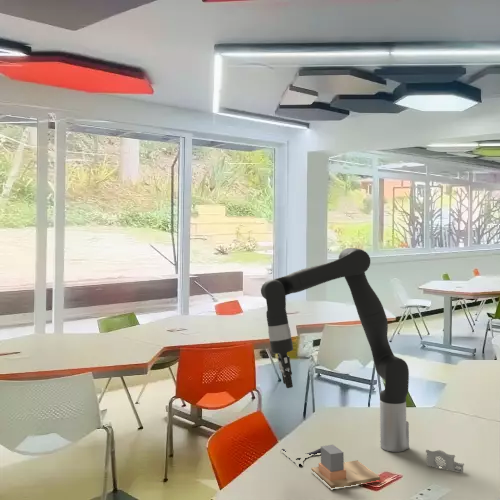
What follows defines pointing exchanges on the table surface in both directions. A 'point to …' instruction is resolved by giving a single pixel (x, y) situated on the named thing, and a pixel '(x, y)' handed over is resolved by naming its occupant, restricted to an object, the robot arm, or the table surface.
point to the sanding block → (332, 463)
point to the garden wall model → (448, 460)
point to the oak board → (350, 475)
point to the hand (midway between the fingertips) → (288, 385)
